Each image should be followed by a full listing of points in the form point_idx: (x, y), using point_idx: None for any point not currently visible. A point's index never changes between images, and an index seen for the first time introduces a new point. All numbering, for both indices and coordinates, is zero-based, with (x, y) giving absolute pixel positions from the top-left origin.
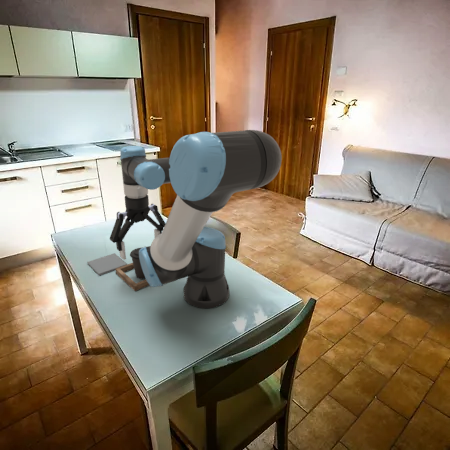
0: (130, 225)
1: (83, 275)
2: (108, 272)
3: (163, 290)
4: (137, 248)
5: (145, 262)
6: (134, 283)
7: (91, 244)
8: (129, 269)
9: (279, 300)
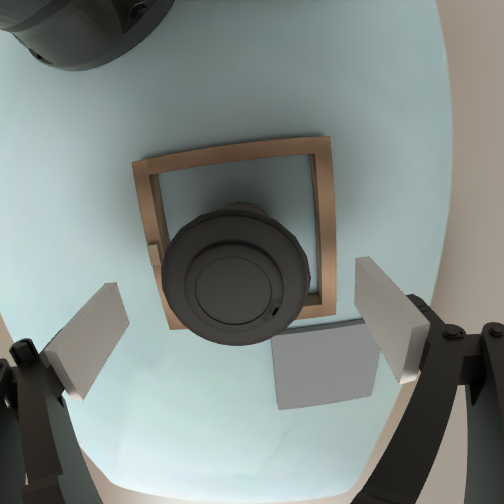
0: (379, 493)
1: None
2: (348, 321)
3: (217, 76)
4: (237, 342)
5: None
6: (321, 157)
7: (307, 459)
8: None
9: None
